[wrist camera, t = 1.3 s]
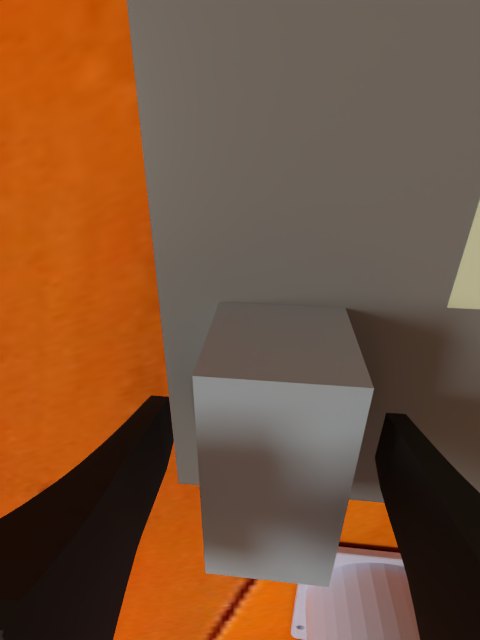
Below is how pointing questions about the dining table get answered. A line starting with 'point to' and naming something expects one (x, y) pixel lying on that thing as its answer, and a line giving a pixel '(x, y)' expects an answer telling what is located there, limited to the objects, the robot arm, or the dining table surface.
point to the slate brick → (278, 438)
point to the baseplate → (321, 192)
